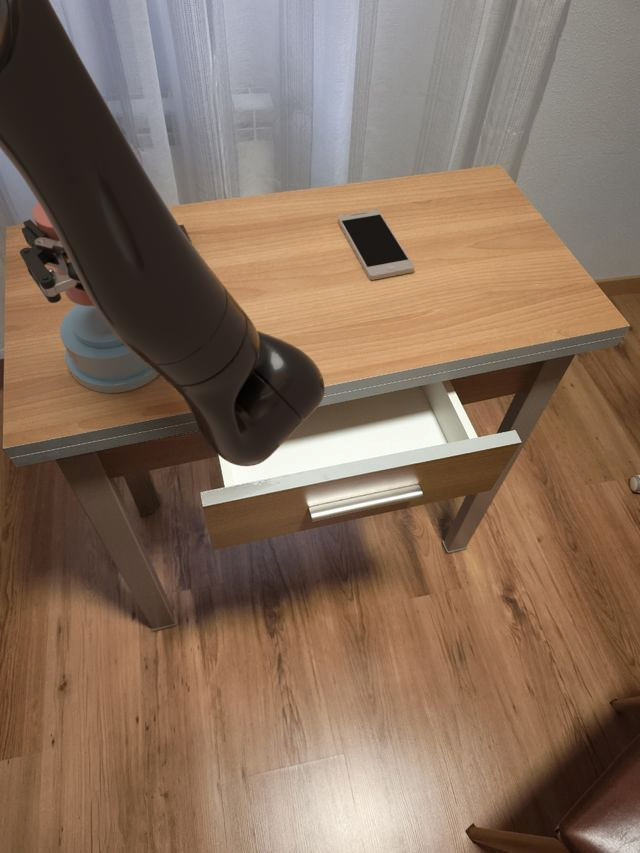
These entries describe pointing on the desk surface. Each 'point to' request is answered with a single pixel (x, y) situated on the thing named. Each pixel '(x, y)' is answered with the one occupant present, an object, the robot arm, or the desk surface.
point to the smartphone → (375, 244)
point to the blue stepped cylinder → (100, 354)
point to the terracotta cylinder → (46, 227)
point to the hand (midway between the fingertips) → (61, 215)
